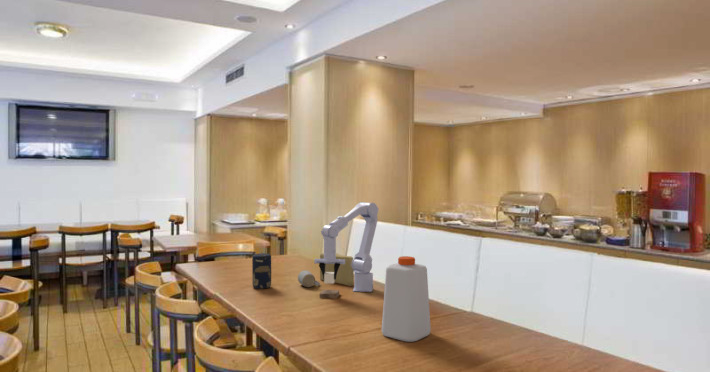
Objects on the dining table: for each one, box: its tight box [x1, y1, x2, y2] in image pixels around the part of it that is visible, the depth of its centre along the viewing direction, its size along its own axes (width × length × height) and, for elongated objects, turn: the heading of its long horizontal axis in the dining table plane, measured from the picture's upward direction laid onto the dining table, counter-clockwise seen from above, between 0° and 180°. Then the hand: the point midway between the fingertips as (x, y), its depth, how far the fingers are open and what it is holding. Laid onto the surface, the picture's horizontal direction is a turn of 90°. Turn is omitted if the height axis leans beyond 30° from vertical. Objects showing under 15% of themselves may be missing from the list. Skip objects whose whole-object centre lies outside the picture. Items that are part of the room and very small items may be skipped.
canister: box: [251, 252, 272, 290], centre depth 244 cm, size 10×10×18 cm
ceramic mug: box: [297, 269, 321, 288], centre depth 249 cm, size 11×8×8 cm
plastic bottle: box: [381, 255, 432, 343], centre depth 173 cm, size 15×15×28 cm
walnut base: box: [319, 289, 340, 300], centre depth 228 cm, size 8×8×2 cm
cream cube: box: [323, 272, 335, 285], centre depth 228 cm, size 4×4×4 cm
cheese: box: [319, 252, 354, 287], centre depth 257 cm, size 22×10×15 cm, turn 42°
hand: (329, 278), depth 228 cm, fingers closed on cream cube, 4 cm apart
